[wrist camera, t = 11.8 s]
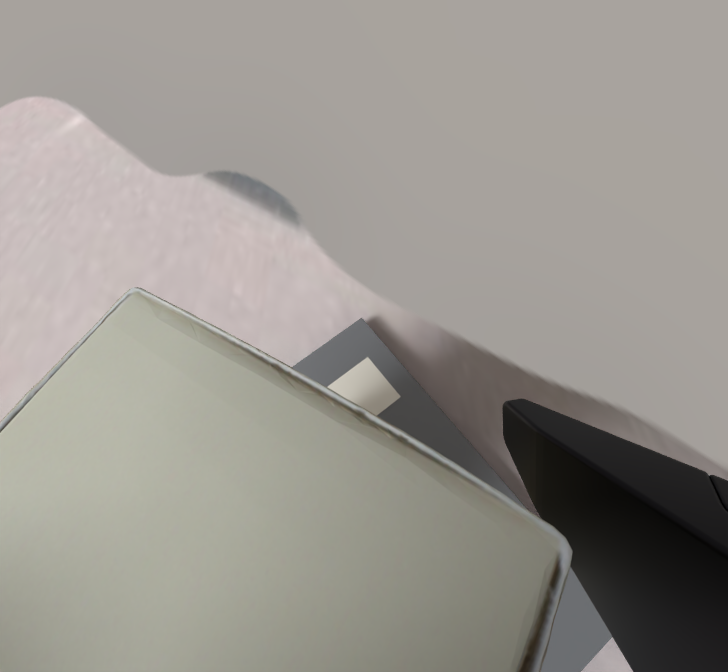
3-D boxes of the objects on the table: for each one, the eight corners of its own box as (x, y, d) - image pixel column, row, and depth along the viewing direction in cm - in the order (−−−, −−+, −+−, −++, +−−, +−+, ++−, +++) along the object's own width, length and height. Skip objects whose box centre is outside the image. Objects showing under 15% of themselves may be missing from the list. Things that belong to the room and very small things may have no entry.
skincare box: (446, 511, 14) (634, 557, 3) (390, 628, 13) (385, 1403, 2) (310, 426, 16) (124, 263, 5) (249, 522, 15) (-199, 597, 4)
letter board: (612, 616, 13) (625, 622, 13) (345, 904, 11) (342, 934, 10) (362, 324, 19) (361, 317, 18) (148, 478, 16) (136, 477, 16)
